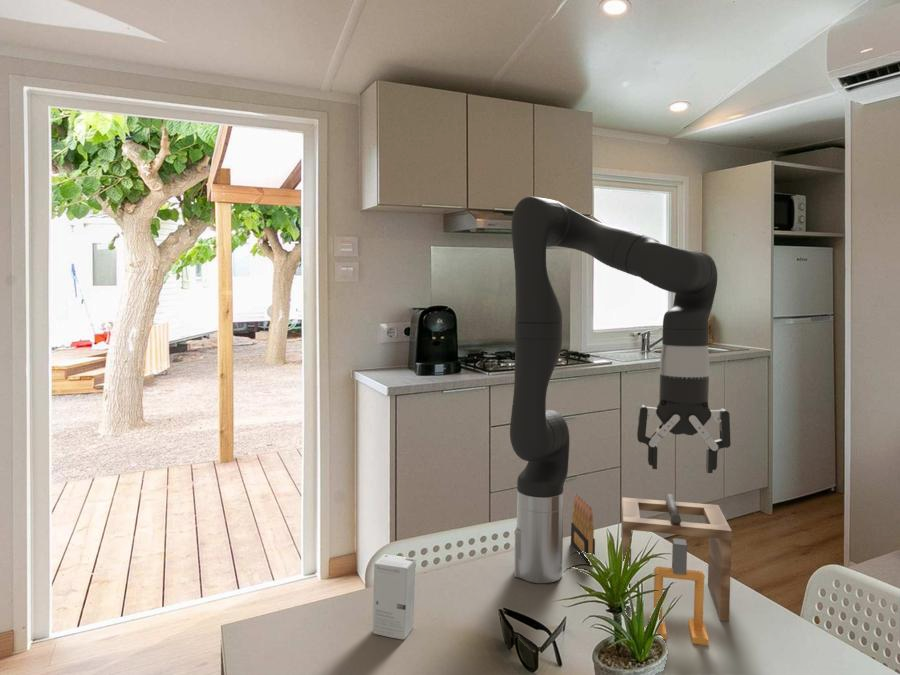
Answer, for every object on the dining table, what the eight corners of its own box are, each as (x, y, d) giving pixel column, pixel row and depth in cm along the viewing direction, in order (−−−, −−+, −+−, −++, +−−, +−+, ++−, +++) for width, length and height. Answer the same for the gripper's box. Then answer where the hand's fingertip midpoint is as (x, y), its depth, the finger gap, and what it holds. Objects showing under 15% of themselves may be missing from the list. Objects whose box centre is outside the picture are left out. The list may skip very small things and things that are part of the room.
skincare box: (371, 634, 102) (371, 563, 101) (382, 621, 106) (382, 552, 106) (406, 641, 100) (406, 568, 100) (416, 627, 105) (416, 557, 104)
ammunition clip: (595, 563, 130) (595, 507, 130) (586, 563, 130) (587, 508, 129) (578, 543, 141) (579, 492, 140) (570, 543, 141) (571, 492, 140)
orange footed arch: (651, 637, 101) (653, 545, 101) (649, 619, 107) (651, 532, 106) (708, 645, 99) (711, 551, 98) (703, 626, 105) (705, 537, 104)
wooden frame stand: (621, 607, 111) (623, 512, 110) (620, 574, 125) (622, 489, 124) (729, 621, 107) (732, 521, 106) (716, 585, 120) (718, 496, 119)
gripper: (639, 373, 99) (637, 473, 100) (735, 376, 95) (732, 479, 96) (637, 368, 106) (635, 461, 107) (727, 371, 103) (724, 467, 103)
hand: (681, 470), depth 102 cm, fingers open, 8 cm apart
